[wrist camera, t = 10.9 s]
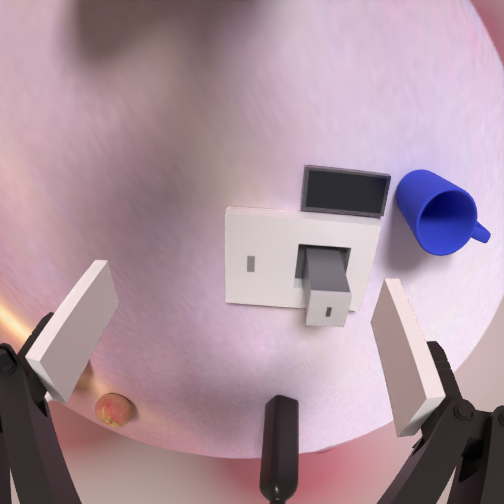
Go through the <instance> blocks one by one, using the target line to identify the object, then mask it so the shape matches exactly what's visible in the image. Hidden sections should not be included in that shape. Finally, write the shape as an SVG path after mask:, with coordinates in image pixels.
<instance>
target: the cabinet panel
mask: <svg viewBox="0 0 504 504" xmlns="http://www.w3.org/2000/svg"><path fill="white" fill-rule="evenodd" d="M381 227H382V226H381V224H380V222H379V221H378V219H377V218H373V217H363V216H353V215H342V214H331V213H319V212H307V211H294V210H280V209H265V208H250V207H233V206H228V207H227V209H226V212H225V299H226V302H227V303H239V304H251V305H264V306H278V307H293V308H305V301H304V287H303V275H302V271H303V264H304V256H305V248H306V245H316V246H329V247H338V249H339V252H340V256H341V259H342V263H343V261H344V263H343V266H344V270H345V273H346V277H347V281H348V284H349V288H350V292H351V293H352V299H351V303H350V307H349V310H351V311H360V309H361V305H362V302H363V298H364V295H365V291H366V288H367V284H368V280H369V276H370V273H371V269H372V265H373V261H374V257H375V253H376V249H377V244H378V240H379V236H380V231H381ZM346 247H347V248H346ZM345 251H346V253H345ZM344 256H345V258H344Z"/></svg>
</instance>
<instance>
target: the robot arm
mask: <svg viewBox="0 0 504 504" xmlns="http://www.w3.org/2000/svg"><path fill="white" fill-rule="evenodd" d="M118 306H119V301H118V297H117V293H116V290H115V286H114V282H113V278H112V274H111V270H110V266H109V262H108V261H105V260H95V261H94V262H93V263H92V264H91V266H90V267H89V268H88V269H87V271H86V272H85V273H84V275H83V276H82V277H81V278H80V280H79V281H78V282H77V284H76V285H75V286H74V288H73V289H72V290H71V292H70V293H69V294H68V296H67V297H66V298H65V300H64V301H63V302H62V304H61V305H60V306H59V308H58V309H57V311H56V312H55V313H52V312H50V313H49V314H47V315H46V316H45V317H44V318H42V319H41V321H40V322H39V324H38V325H37V326H36V329H34V331H33V332H32V335H30V336H29V338H28V339H27V341H26V342H25V344H24V345H23V347H22V348H21V350H20V351H19V353H18V354H17V355H16V353H15V352H14V350H13V348H12V347H11V346H10V345H9V344H6V343H2V344H0V504H12V502H11V487H10V469H11V473H12V477H13V481H14V485H15V488H16V492H17V495H18V499H19V502H20V504H82V503H81V501H80V499H79V496H78V494H77V492H76V489H75V487H74V484H73V482H72V479H71V476H70V474H69V471H68V468H67V466H66V463H65V460H64V457H63V454H62V451H61V448H60V445H59V442H58V439H57V436H56V432H55V429H54V425H53V422H52V418H51V415H50V411H49V407H48V403H47V400H46V398H45V395H46V393H47V391H48V393H49V394H50V396H51V397H52V398H53V399H54V400H57V401H60V402H63V403H66V404H67V403H68V400H69V398H70V396H71V394H72V392H73V390H74V388H75V386H76V384H77V382H78V380H79V378H80V376H81V374H82V372H83V370H84V368H85V366H86V364H87V362H88V361H89V359H90V357H91V355H92V353H93V351H94V349H95V347H96V345H97V344H98V342H99V340H100V338H101V336H102V334H103V332H104V331H105V329H106V327H107V325H108V323H109V322H110V320H111V318H112V316H113V315H114V313H115V311H116V309H117V308H118ZM371 325H372V329H373V333H374V336H375V340H376V344H377V348H378V352H379V356H380V360H381V364H382V368H383V372H384V376H385V381H386V385H387V389H388V394H389V399H390V403H391V408H392V413H393V418H394V423H395V427H396V433H397V437H403V436H412V435H415V434H416V433H417V432H418V430H419V429H420V428H421V431H422V435H423V436H422V437H421V438H420V439H419V440H418V442H417V443H416V444H415V445H414V446H413V447H412V448H414V450H413V451H412V453H411V455H410V456H409V458H408V459H407V461H406V462H405V464H404V465H403V467H402V468H401V470H400V472H399V473H398V474H397V476H396V477H395V479H394V480H393V482H392V483H391V485H390V486H389V488H388V489H387V490H386V492H385V493H384V494H383V496H382V497H381V498H380V500H379V501H378V503H377V504H436V503H437V501H438V499H439V498H440V496H441V494H442V492H443V490H444V489H445V487H446V485H447V483H448V481H449V479H450V477H451V475H452V473H453V471H454V469H455V467H456V470H455V474H454V479H453V483H452V487H451V490H450V494H449V498H448V501H447V504H504V406H502V405H501V406H499V407H497V408H496V409H495V410H494V411H493V412H485V411H479V410H475V408H474V406H473V405H472V404H471V403H470V402H469V401H468V400H465V399H463V398H462V396H461V393H460V391H459V388H458V385H457V382H456V380H455V377H454V374H453V372H452V369H451V367H450V364H449V362H448V361H447V360H448V359H447V357H446V354H445V352H444V350H443V349H442V347H441V346H440V345H439V344H438V343H437V342H436V341H429V342H426V340H425V338H424V335H423V333H422V330H421V328H420V326H419V323H418V321H417V318H416V316H415V314H414V311H413V309H412V307H411V304H410V302H409V300H408V297H407V295H406V293H405V291H404V288H403V286H402V284H401V282H400V280H399V279H389V278H384V282H383V285H382V288H381V292H380V295H379V298H378V301H377V304H376V307H375V311H374V314H373V317H372V320H371ZM456 465H457V466H456Z"/></svg>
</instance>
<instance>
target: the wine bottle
mask: <svg viewBox="0 0 504 504" xmlns="http://www.w3.org/2000/svg"><path fill="white" fill-rule="evenodd" d="M298 459H299V403H298V401H296V400H294V399H290V398H287V397H284V396H281V395H278V396H275V397H274V398H273V399H272V400H271V401H269V402H268V403H267V404H266V407H265V421H264V434H263V447H262V459H261V472H260V484H259V487H260V491H261V493H262V495H263V496H264V497H265V498H266V499H267V500H269V501H270V504H285V502H286V501H287V500H288V499H289V498H290V497H292V496H293V495H294V493H295V492H296V489H297V486H298Z"/></svg>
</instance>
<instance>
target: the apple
mask: <svg viewBox="0 0 504 504" xmlns="http://www.w3.org/2000/svg"><path fill="white" fill-rule="evenodd" d="M95 412H96V415H97V417H98V419H99V420H100V421H101V422H102V423H104V424H106V425H108V426H111V427H116V428H120V427H123V426H125V425H126V424H127V423H128V422H129V420H130V418H131V413H132V409H131V405H130V403H129V402H128V400H127V399H126V398H124V397H122V396H120V395H117V394H105V395H103V396H102V397H101V398H100V399H99V400H98V401H97V403H96V406H95Z"/></svg>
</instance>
